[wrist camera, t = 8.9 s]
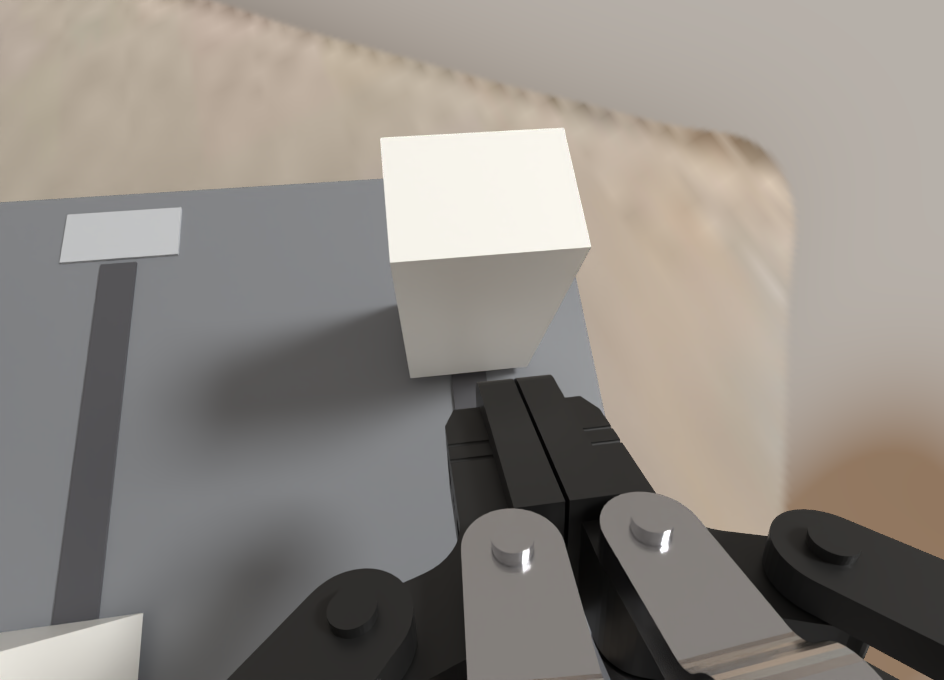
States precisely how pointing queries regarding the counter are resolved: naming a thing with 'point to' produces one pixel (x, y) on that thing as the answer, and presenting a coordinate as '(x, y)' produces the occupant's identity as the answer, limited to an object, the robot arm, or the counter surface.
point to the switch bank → (219, 413)
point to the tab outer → (480, 244)
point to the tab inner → (74, 650)
